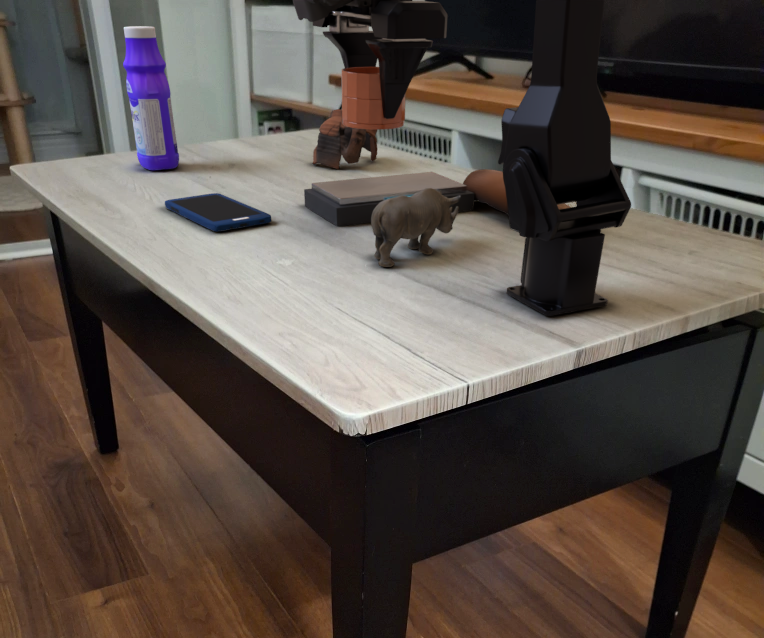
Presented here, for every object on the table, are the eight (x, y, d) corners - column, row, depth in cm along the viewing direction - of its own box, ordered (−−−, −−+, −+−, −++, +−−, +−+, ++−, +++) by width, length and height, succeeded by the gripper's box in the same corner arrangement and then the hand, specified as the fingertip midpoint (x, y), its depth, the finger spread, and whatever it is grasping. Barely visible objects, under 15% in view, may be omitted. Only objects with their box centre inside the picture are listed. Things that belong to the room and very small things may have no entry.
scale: (473, 210, 93) (475, 185, 91) (336, 226, 86) (336, 200, 84) (433, 192, 100) (434, 169, 98) (304, 206, 93) (303, 182, 92)
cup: (415, 127, 80) (417, 72, 77) (358, 131, 77) (358, 74, 75) (386, 117, 85) (387, 65, 82) (332, 121, 82) (331, 67, 79)
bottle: (135, 164, 113) (112, 25, 103) (173, 161, 115) (155, 24, 105) (144, 173, 108) (121, 28, 98) (184, 170, 110) (166, 27, 100)
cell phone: (215, 232, 83) (215, 225, 83) (162, 206, 92) (161, 200, 92) (274, 222, 87) (273, 215, 86) (217, 198, 96) (217, 192, 95)
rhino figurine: (473, 241, 82) (478, 181, 78) (390, 270, 73) (392, 205, 70) (443, 233, 84) (446, 175, 81) (359, 262, 76) (358, 198, 72)
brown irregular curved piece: (299, 164, 116) (316, 109, 115) (353, 190, 121) (370, 137, 120) (327, 156, 106) (346, 95, 105) (385, 184, 111) (404, 127, 109)
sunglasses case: (602, 227, 85) (584, 174, 80) (551, 265, 85) (531, 214, 80) (517, 192, 98) (498, 145, 94) (473, 225, 98) (453, 180, 94)
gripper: (260, -74, 75) (271, 104, 84) (337, -79, 62) (340, 133, 71) (362, -70, 79) (362, 99, 88) (455, -74, 66) (444, 126, 75)
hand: (374, 113), depth 81 cm, fingers closed on cup, 6 cm apart
